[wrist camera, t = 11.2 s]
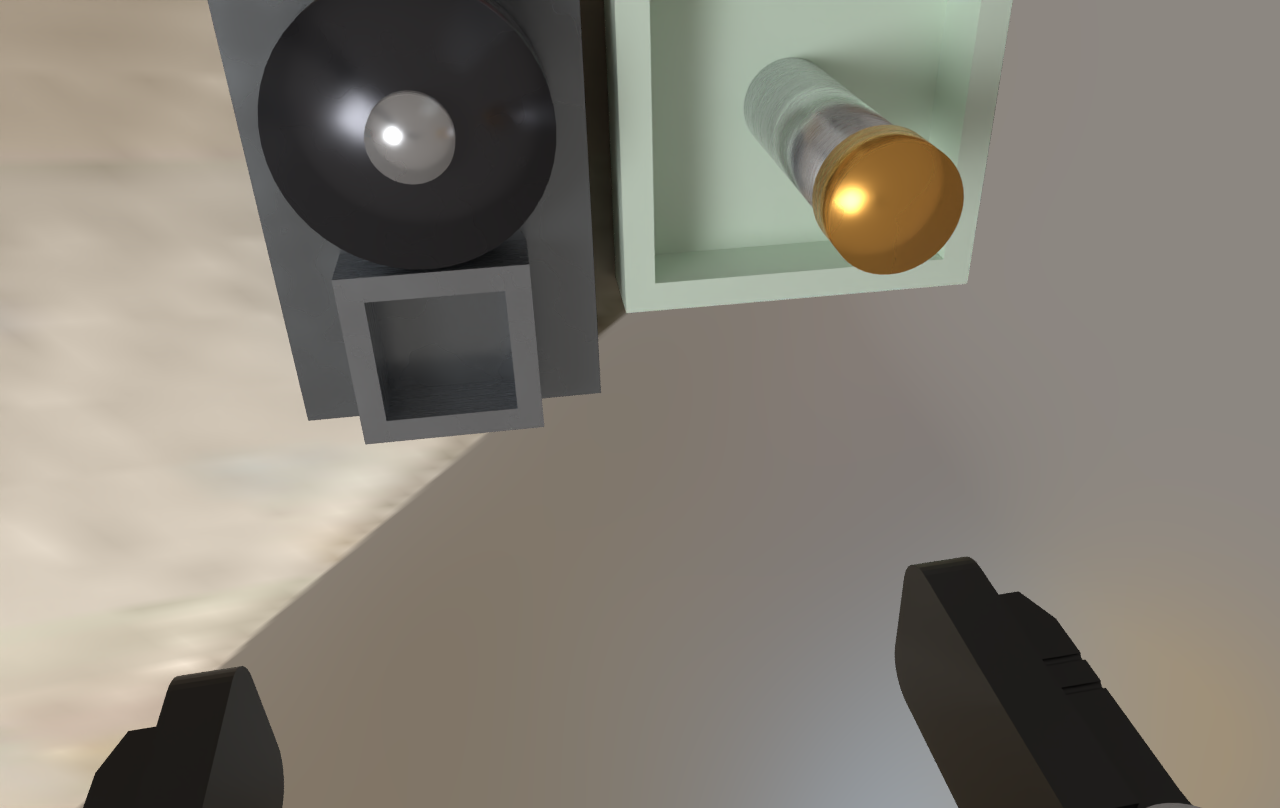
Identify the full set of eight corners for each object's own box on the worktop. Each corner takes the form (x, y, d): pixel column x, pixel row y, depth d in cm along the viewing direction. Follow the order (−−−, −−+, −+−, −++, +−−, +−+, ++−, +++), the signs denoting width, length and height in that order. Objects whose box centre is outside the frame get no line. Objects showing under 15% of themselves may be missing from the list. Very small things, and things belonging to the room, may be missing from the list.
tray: (600, -94, 29) (611, -84, 27) (983, -110, 31) (1029, -102, 28) (615, 277, 36) (626, 313, 33) (933, 250, 37) (967, 283, 34)
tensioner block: (225, -40, 29) (176, -9, 24) (568, -56, 30) (586, -29, 25) (320, 377, 36) (296, 463, 31) (592, 352, 37) (609, 432, 32)
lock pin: (738, 53, 32) (835, 147, 23) (841, 48, 32) (973, 137, 23) (736, 158, 33) (825, 280, 25) (833, 151, 34) (953, 269, 25)
